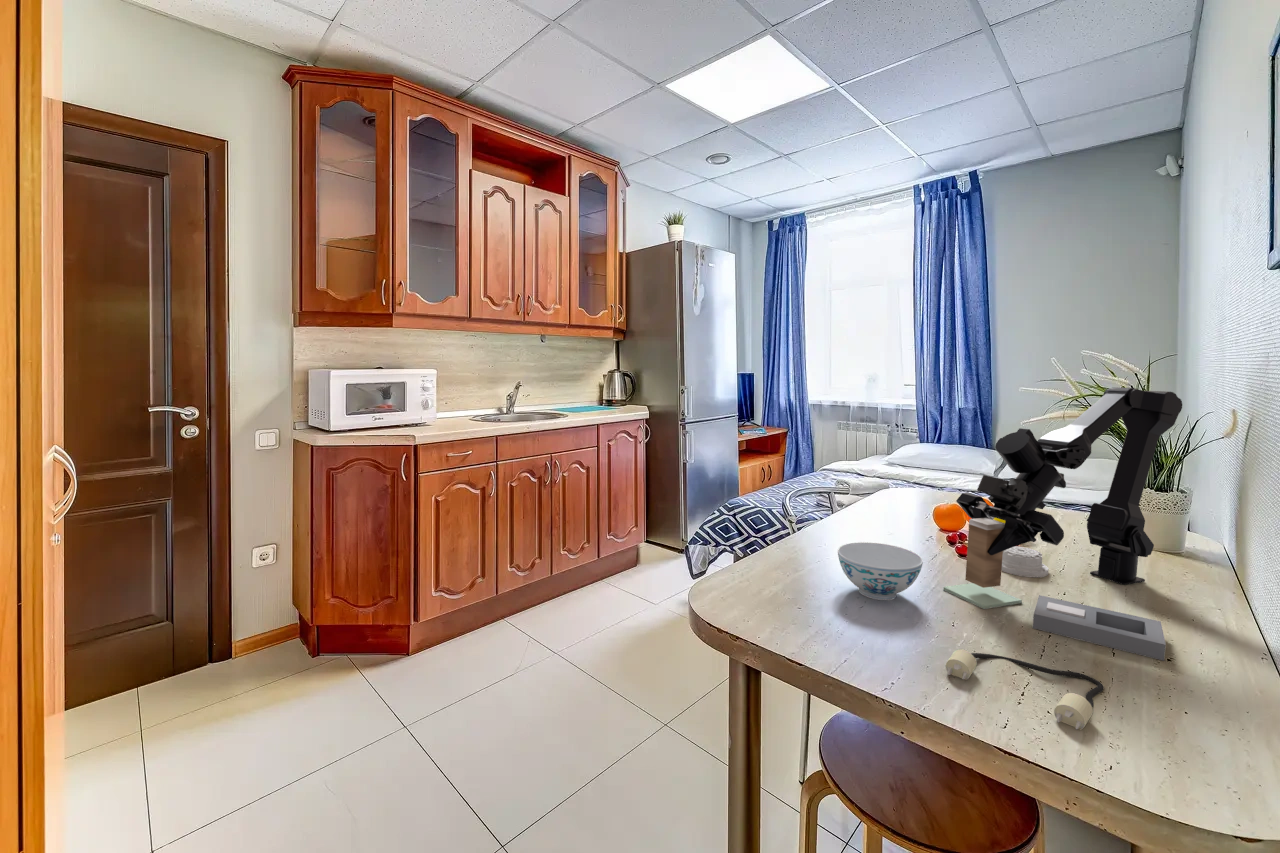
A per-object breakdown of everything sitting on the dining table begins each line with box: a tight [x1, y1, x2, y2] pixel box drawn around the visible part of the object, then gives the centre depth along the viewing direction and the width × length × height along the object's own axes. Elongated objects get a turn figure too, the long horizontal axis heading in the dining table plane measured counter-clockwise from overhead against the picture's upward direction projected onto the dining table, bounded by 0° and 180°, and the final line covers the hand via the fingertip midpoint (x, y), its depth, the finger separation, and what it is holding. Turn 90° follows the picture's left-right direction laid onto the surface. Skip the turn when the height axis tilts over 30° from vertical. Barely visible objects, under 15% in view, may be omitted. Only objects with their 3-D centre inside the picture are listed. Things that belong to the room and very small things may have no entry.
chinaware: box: [837, 541, 924, 601], centre depth 106 cm, size 15×15×8 cm
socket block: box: [1032, 594, 1167, 662], centre depth 90 cm, size 10×16×3 cm, turn 50°
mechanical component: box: [1001, 545, 1050, 578], centre depth 119 cm, size 10×4×10 cm
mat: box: [942, 582, 1023, 610], centre depth 104 cm, size 9×9×1 cm
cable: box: [945, 648, 1105, 731], centre depth 76 cm, size 16×16×4 cm
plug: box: [964, 518, 1005, 588], centre depth 103 cm, size 4×4×12 cm
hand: (979, 549), depth 103 cm, fingers closed on plug, 4 cm apart
